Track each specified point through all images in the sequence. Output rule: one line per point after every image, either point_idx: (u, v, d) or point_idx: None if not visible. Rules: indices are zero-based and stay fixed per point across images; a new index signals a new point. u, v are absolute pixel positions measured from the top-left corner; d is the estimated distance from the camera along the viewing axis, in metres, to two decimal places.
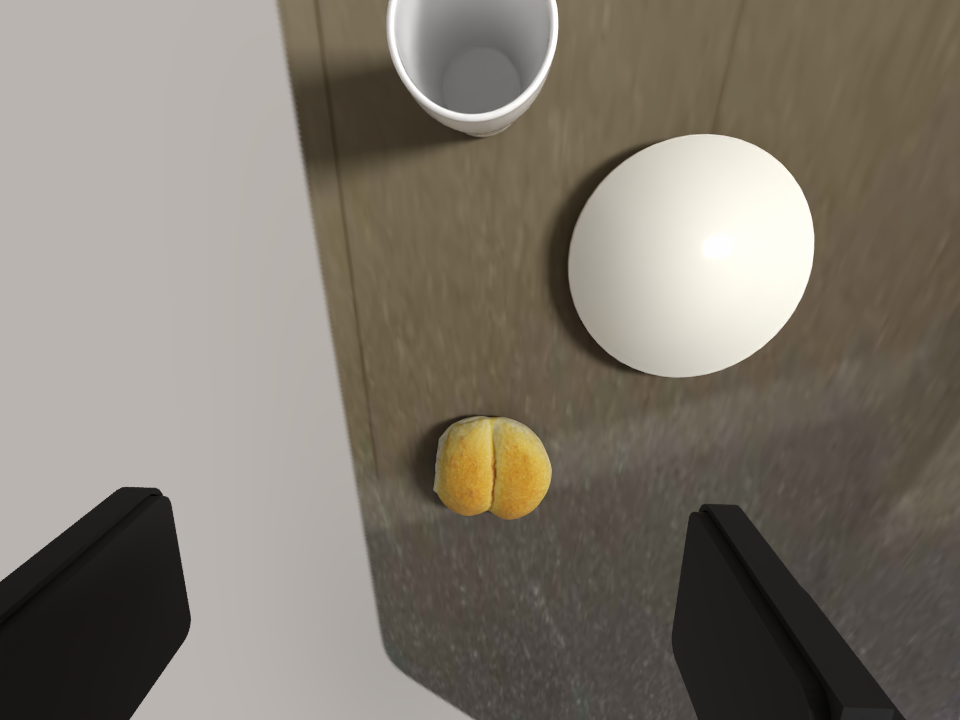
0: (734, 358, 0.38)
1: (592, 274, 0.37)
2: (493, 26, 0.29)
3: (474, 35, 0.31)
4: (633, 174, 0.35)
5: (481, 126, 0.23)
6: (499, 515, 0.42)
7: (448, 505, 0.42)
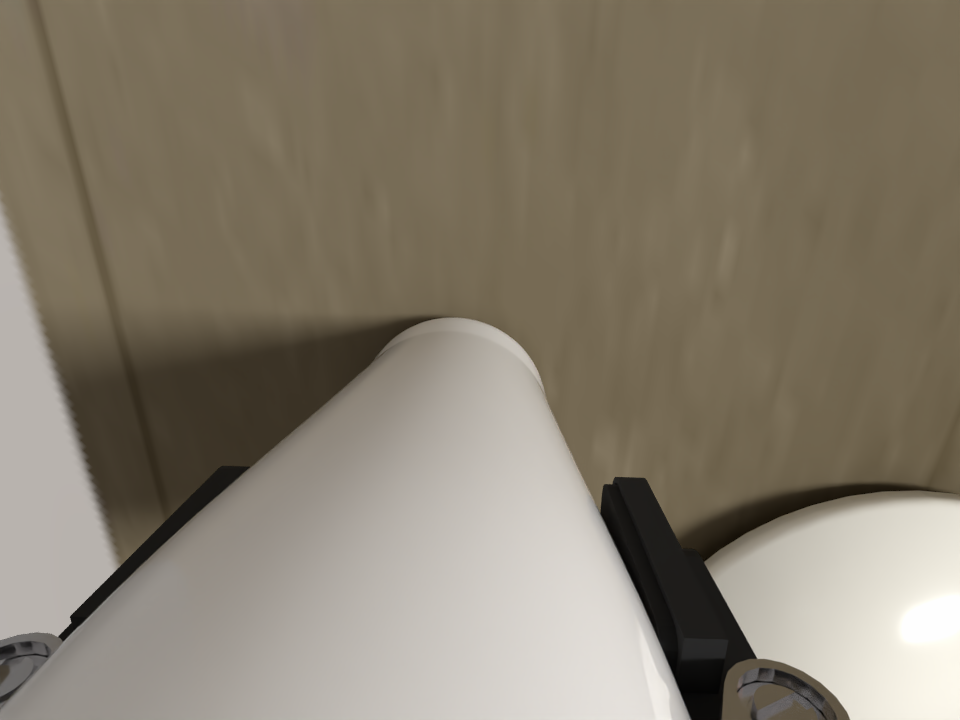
0: None
1: None
2: None
3: None
4: (776, 573, 0.16)
5: None
6: None
7: None
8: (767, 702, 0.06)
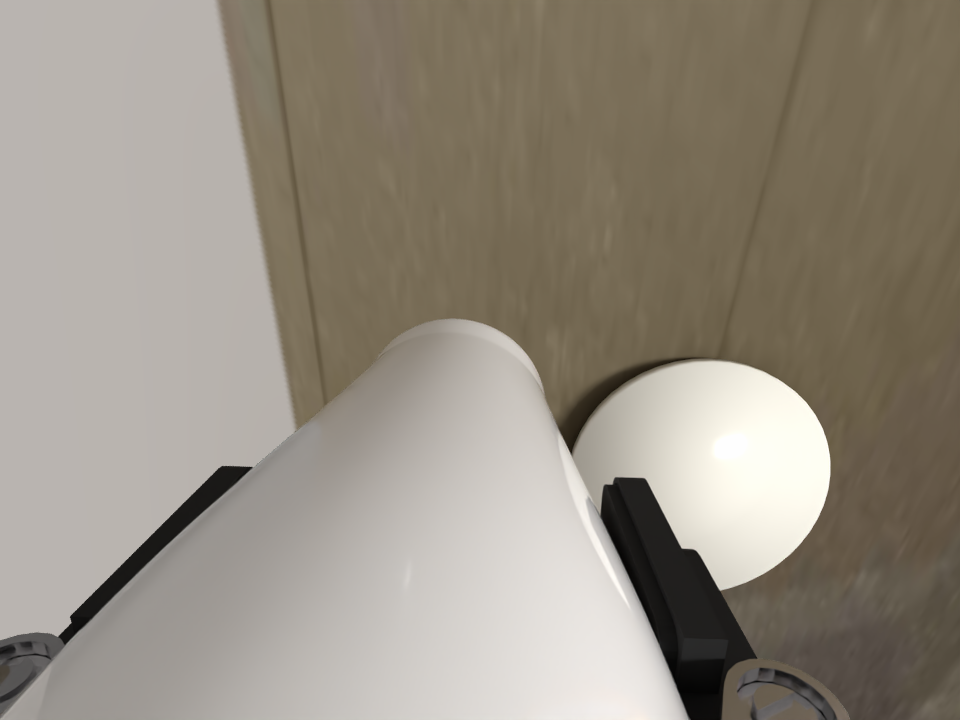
0: (745, 576, 0.36)
1: (593, 495, 0.35)
2: None
3: None
4: (637, 399, 0.33)
5: None
6: None
7: None
8: (767, 702, 0.06)
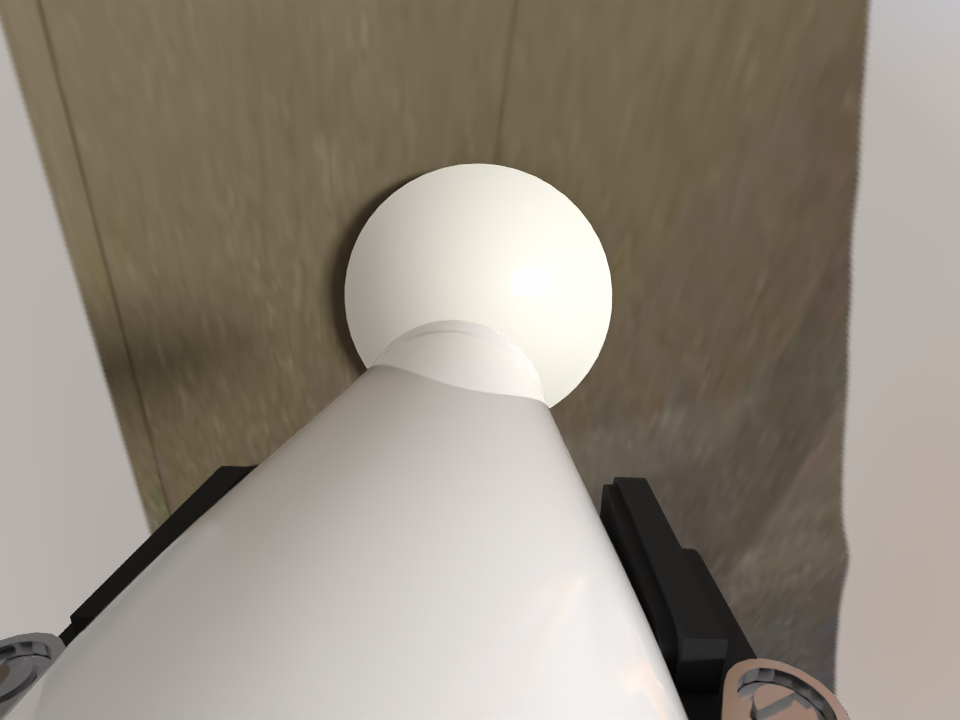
0: None
1: (371, 317, 0.33)
2: None
3: None
4: (404, 207, 0.31)
5: None
6: None
7: None
8: (766, 702, 0.06)
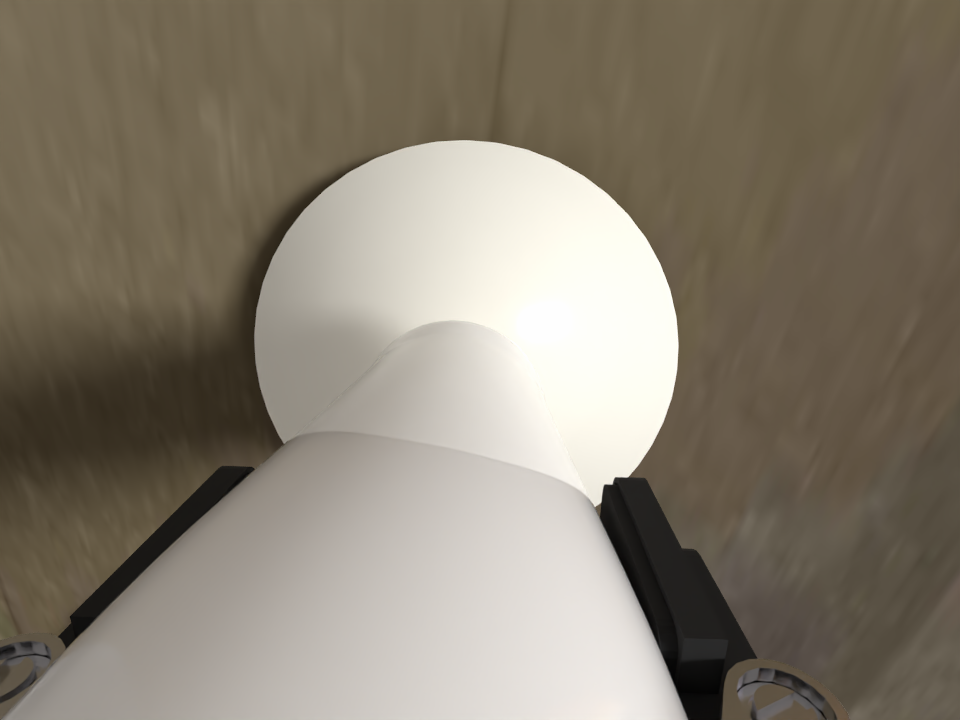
0: None
1: (298, 384, 0.21)
2: None
3: None
4: (343, 212, 0.19)
5: None
6: None
7: None
8: (767, 702, 0.06)
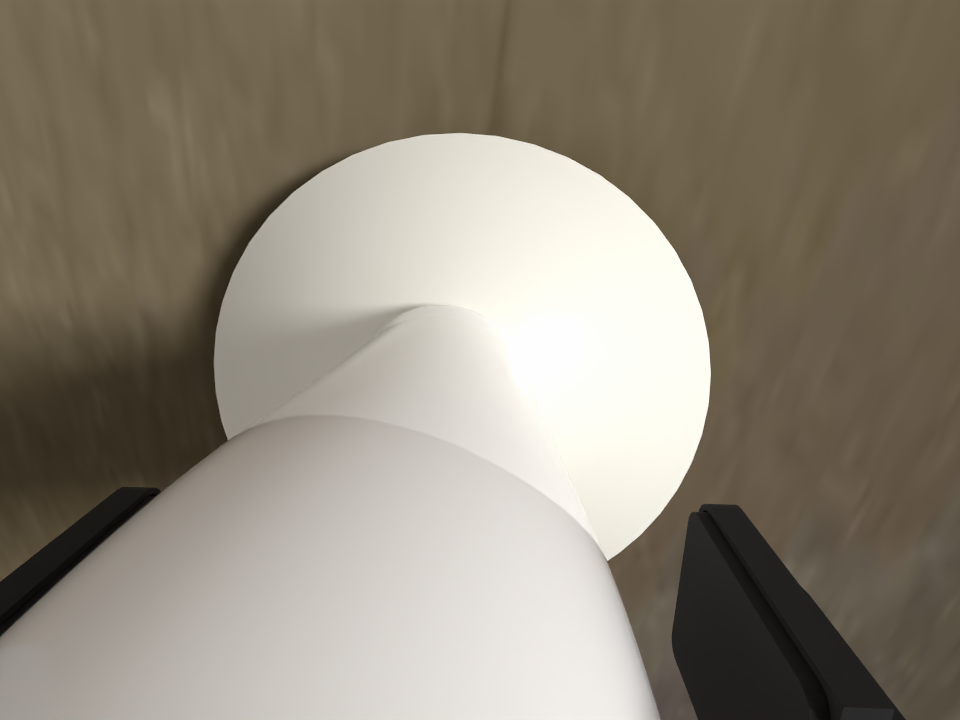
0: None
1: None
2: None
3: None
4: (316, 219, 0.16)
5: None
6: None
7: None
8: None
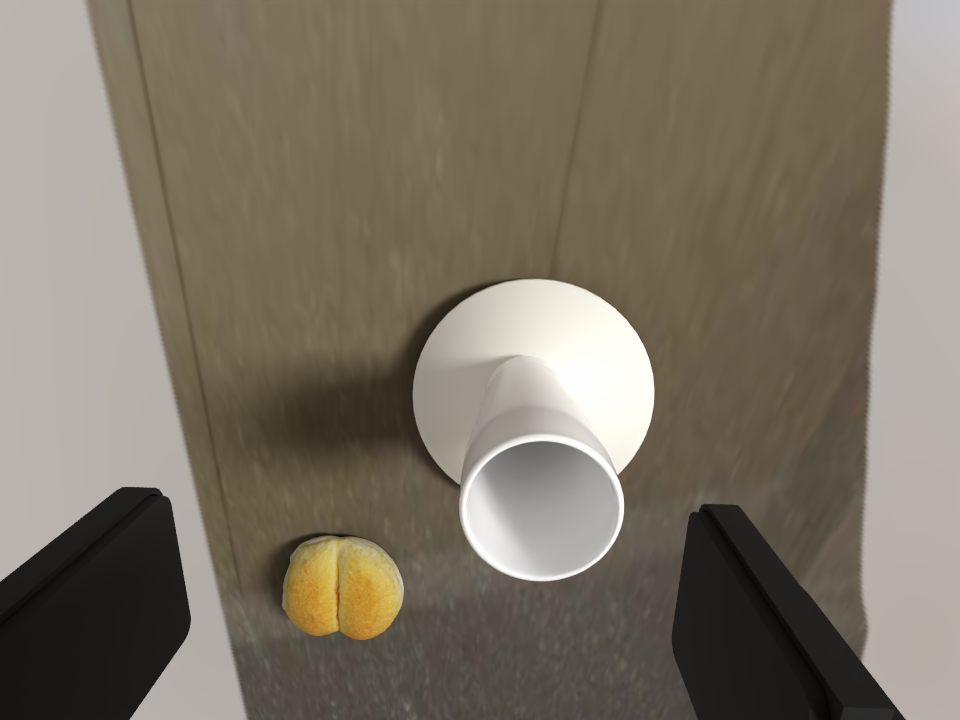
0: None
1: (435, 409, 0.37)
2: None
3: None
4: (470, 315, 0.35)
5: None
6: (349, 636, 0.41)
7: (297, 626, 0.41)
8: None
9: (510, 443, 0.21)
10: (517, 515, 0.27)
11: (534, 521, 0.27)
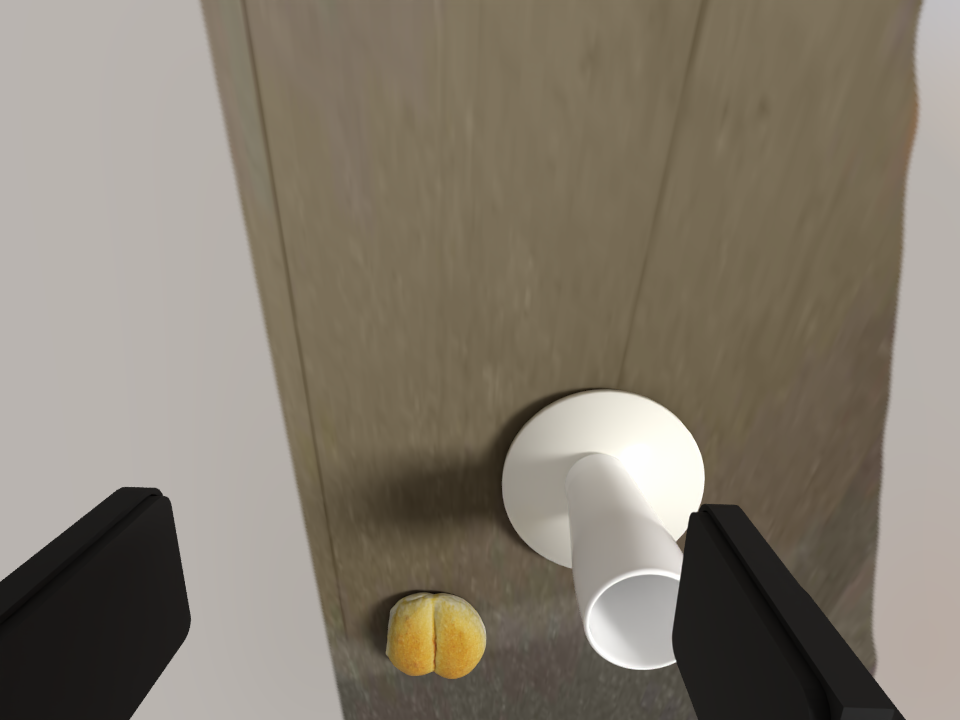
0: None
1: (521, 494, 0.44)
2: None
3: None
4: (552, 421, 0.42)
5: None
6: (442, 676, 0.49)
7: (398, 668, 0.49)
8: None
9: (625, 576, 0.28)
10: (611, 605, 0.35)
11: (625, 610, 0.34)
